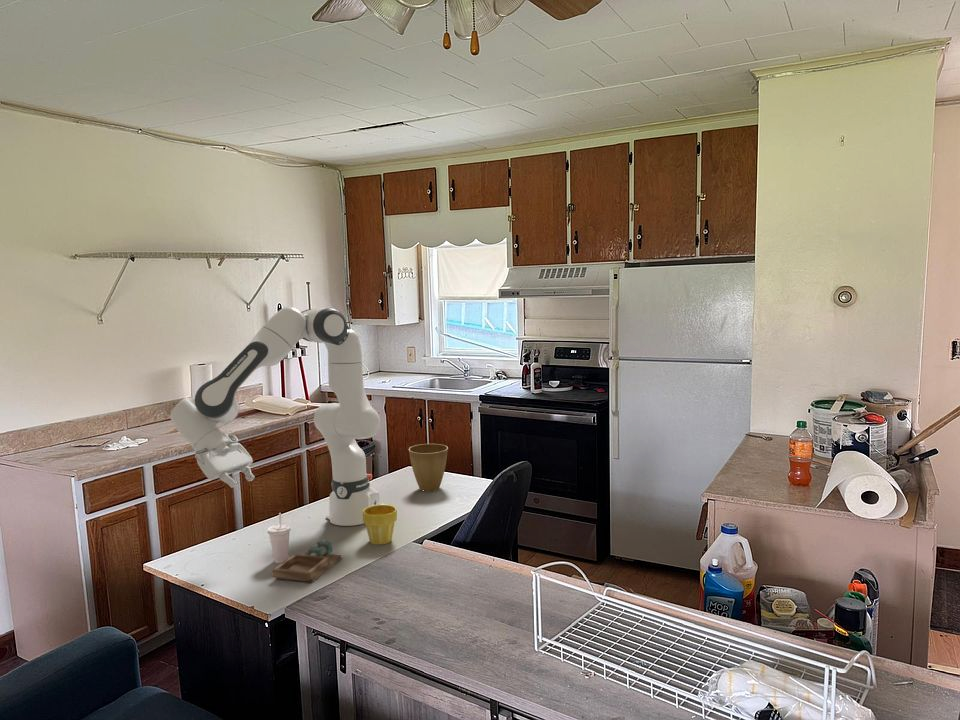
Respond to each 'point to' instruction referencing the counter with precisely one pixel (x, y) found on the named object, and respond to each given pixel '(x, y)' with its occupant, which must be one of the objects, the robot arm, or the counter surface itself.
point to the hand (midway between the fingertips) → (243, 482)
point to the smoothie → (279, 541)
